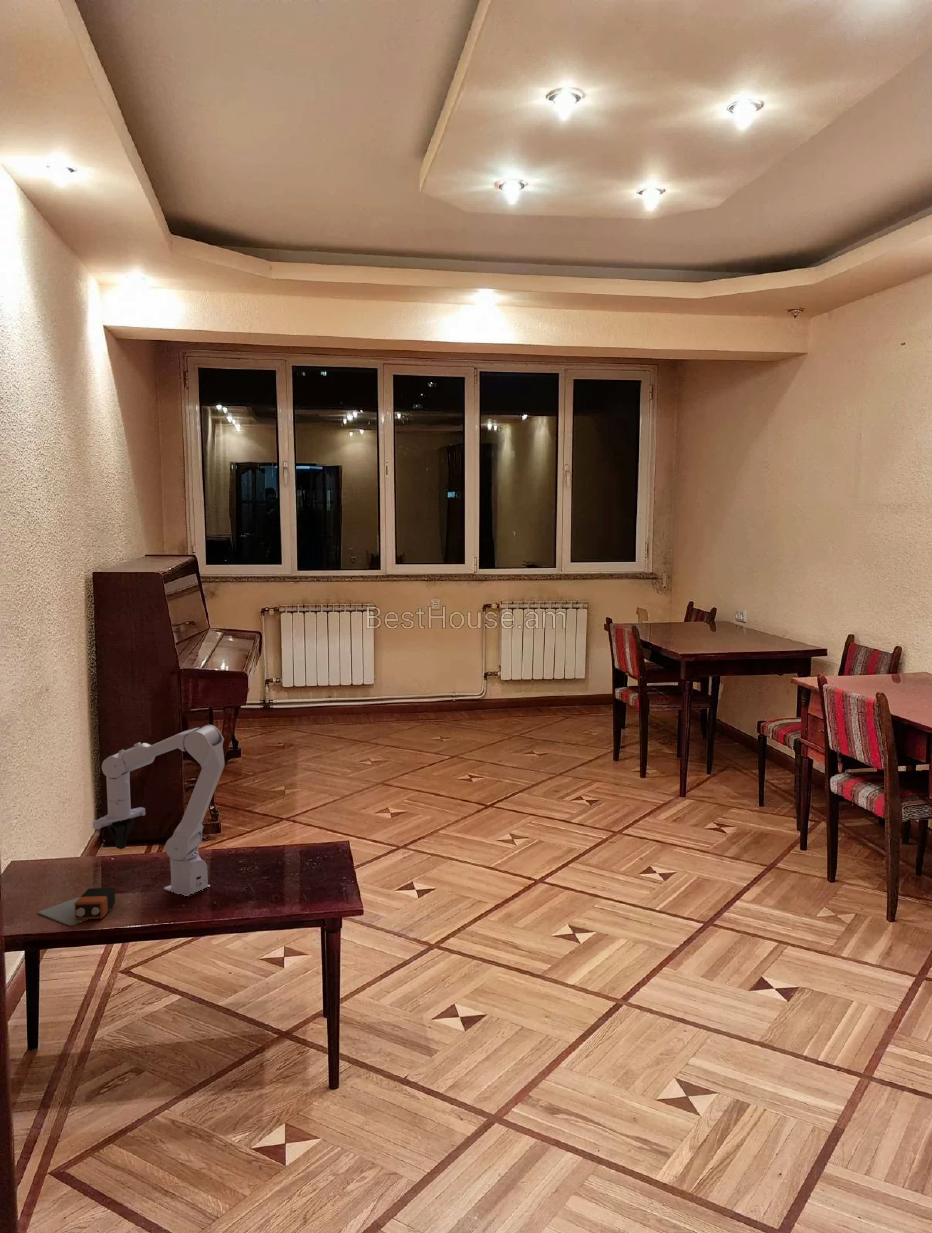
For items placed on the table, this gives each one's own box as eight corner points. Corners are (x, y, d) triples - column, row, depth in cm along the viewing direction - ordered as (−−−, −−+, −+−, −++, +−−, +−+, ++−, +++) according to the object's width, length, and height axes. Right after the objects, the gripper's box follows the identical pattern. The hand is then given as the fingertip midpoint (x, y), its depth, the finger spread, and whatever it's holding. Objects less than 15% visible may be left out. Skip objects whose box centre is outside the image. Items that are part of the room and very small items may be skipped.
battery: (87, 887, 219) (72, 904, 209) (115, 887, 219) (100, 903, 209) (88, 904, 219) (72, 921, 209) (115, 903, 220) (101, 920, 210)
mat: (111, 910, 216) (111, 909, 216) (70, 926, 207) (70, 925, 207) (78, 898, 224) (78, 896, 224) (37, 913, 215) (37, 911, 215)
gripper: (133, 789, 239) (135, 837, 240) (85, 802, 227) (87, 853, 228) (149, 793, 235) (151, 842, 236) (101, 807, 223) (103, 858, 224)
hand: (120, 847), depth 232 cm, fingers closed
